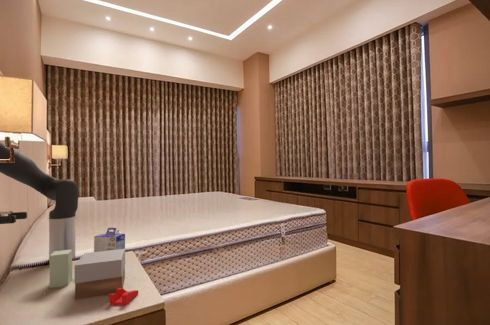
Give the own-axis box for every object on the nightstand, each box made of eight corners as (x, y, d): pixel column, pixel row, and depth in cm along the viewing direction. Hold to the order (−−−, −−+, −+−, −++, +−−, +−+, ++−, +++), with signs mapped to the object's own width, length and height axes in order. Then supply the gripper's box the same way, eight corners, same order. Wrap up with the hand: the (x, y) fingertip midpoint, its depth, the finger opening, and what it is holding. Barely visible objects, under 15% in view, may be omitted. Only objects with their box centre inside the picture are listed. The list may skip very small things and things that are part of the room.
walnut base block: (84, 284, 85) (84, 268, 85) (124, 278, 89) (124, 263, 89) (75, 301, 74) (75, 283, 74) (122, 293, 78) (122, 276, 78)
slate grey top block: (84, 268, 85) (84, 253, 85) (125, 263, 89) (125, 248, 89) (74, 283, 74) (74, 265, 74) (121, 276, 78) (121, 259, 78)
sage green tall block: (54, 281, 87) (54, 251, 87) (72, 279, 89) (72, 249, 89) (49, 288, 82) (49, 255, 82) (68, 285, 84) (68, 253, 84)
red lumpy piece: (126, 306, 70) (126, 295, 70) (109, 306, 71) (109, 294, 71) (138, 295, 77) (138, 284, 77) (122, 294, 77) (122, 284, 77)
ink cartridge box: (126, 265, 101) (125, 227, 101) (116, 270, 96) (116, 230, 96) (103, 264, 103) (103, 226, 103) (92, 269, 98) (92, 229, 98)
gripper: (-66, 211, 70) (11, 207, 76) (-34, 205, 83) (30, 202, 89) (-67, 239, 69) (11, 233, 75) (-35, 229, 82) (29, 225, 89)
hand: (21, 217), depth 82 cm, fingers open, 8 cm apart
